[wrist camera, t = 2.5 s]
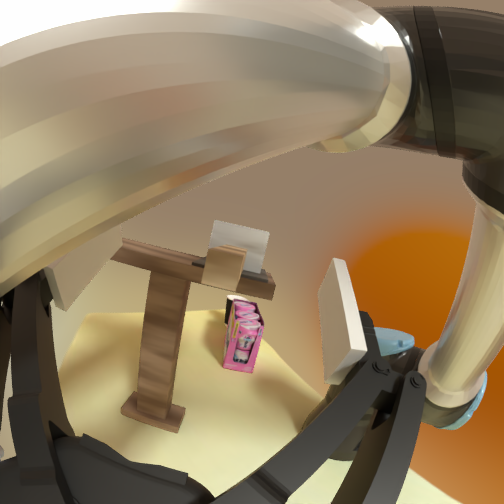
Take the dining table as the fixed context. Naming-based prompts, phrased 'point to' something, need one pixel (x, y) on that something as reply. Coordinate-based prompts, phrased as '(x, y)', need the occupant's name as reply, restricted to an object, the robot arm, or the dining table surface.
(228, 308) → the dixie cup
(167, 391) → the wooden t-shaped stand
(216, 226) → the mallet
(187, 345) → the dining table surface
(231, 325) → the gum box
